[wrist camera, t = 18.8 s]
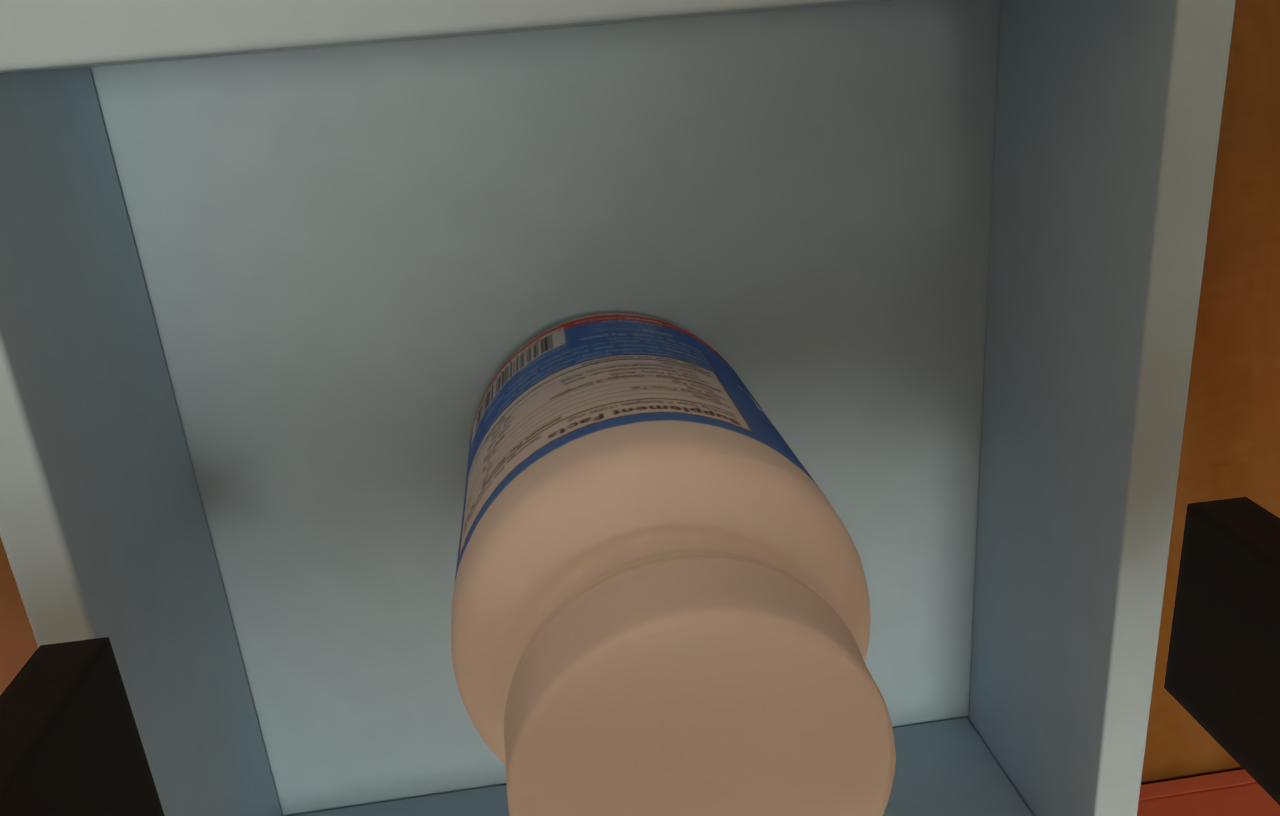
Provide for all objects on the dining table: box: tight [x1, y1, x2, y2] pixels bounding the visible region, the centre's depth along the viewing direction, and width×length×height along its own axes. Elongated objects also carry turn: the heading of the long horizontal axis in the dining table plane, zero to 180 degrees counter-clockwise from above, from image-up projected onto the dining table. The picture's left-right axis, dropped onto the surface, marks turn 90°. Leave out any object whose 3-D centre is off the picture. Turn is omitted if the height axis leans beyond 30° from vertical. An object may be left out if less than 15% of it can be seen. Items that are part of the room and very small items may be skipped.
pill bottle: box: [451, 313, 896, 816], centre depth 15 cm, size 6×5×10 cm
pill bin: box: [0, 0, 1236, 816], centre depth 17 cm, size 17×17×6 cm
